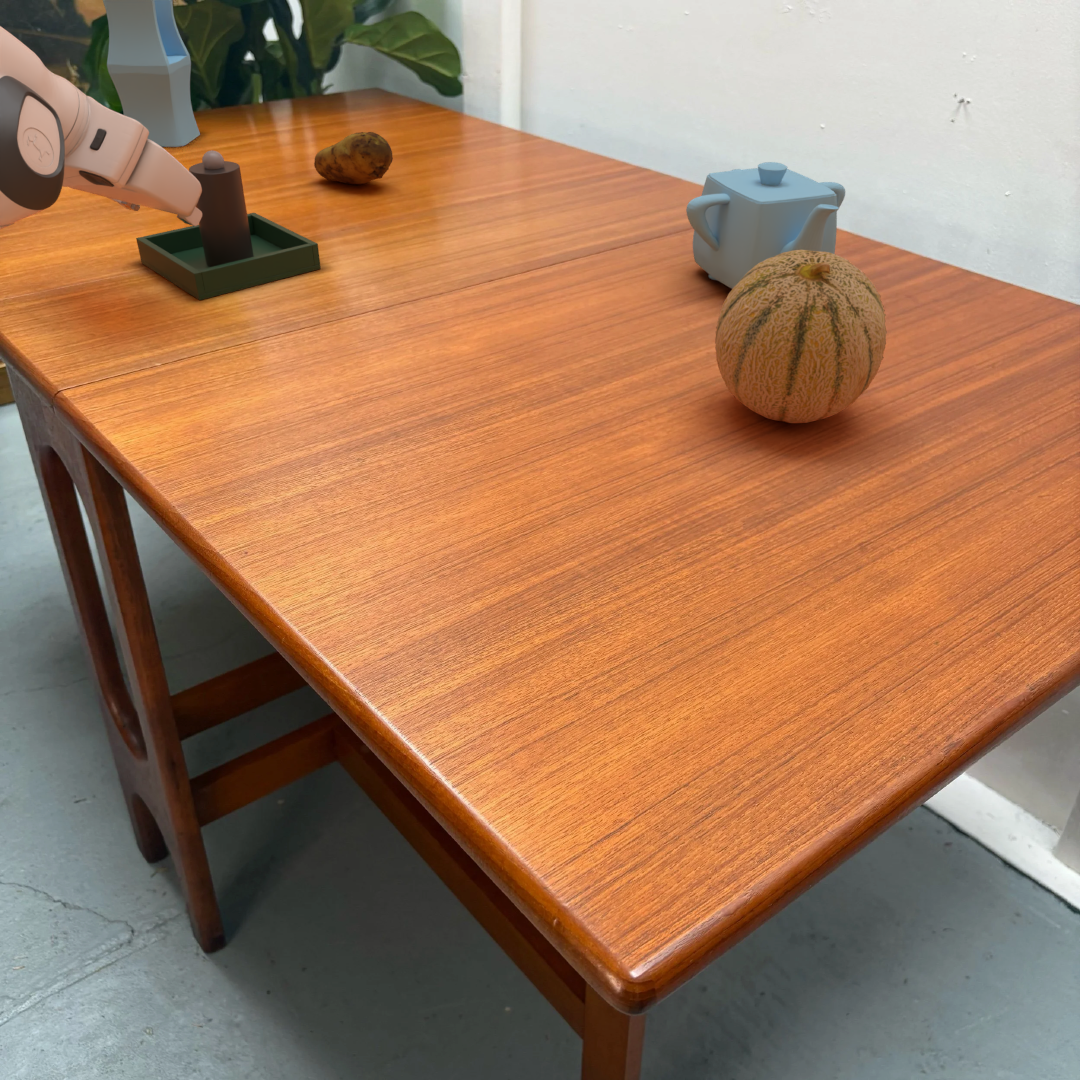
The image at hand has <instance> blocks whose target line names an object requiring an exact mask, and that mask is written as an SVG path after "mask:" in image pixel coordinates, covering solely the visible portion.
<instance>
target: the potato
mask: <svg viewBox="0 0 1080 1080" xmlns="http://www.w3.org/2000/svg"><path fill="white" fill-rule="evenodd" d="M393 159H394V158H393V150H392V148H391V145H390V144H389V142H388V140H387V139H386V138H384V137H383V136H382V135H380V134H378V133H376V132H374V131H368V132H366V131H361V132H355V133H351V134H349V135H347V136H345V137H344V138H343V139H341V140H340V141H338V142H337V143H335V144H332V145H330V146H327V147H325V148H322V149H321V150H319V151H318V152H317V153H316V155H315V156H314V163H313V164H314V165H313V166H314V168H315V170H316V172H317V174H319V176H321V178H323V179H325V180H327V181H332V182H333V181H334V182H340V183H342V184H343V183H344V184H348V185H365V184H368V183H370V182H372V181H375V180H378V179H382V178H383V177H384V175H385V174H386V173H387V171H389V168H390V166H391V164H392V163H393V161H394V160H393Z"/></svg>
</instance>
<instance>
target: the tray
mask: <svg viewBox="0 0 1080 1080" xmlns="http://www.w3.org/2000/svg"><path fill="white" fill-rule="evenodd" d="M247 217H248V223H249V229H250V236H251V242H252V248H253V255H254V257H251V258H247V259H242V260H238V261H234V262H230V263H226V264H222V265H218V266H214V267H209V266H208V265H207V264H206V260H205V254H204V249H203V243H202V238H201V233H200V227H199V224H198V225H197V226H193V225H189V226H185V227H180V228H176V229H171V230H167V231H163V232H157V233H152V234H149V235H144V236H139V237H136V238H135V239H136V244H137V248H138V253H139V258H140V262H141V264H143V265H144V266H146V267H147V268H148V269H150V270H152V271H153V272H155V273H156V274H158V275H159V276H161V277H162V278H164V279H166V280H167V281H169V282H171V284H173V285H174V286H176V287H178V288H179V289H181V290H182V291H184V292H186V293H187V294H188V295H190V296H192V297H194V298H195V299H197V300H198V301H202V300H206V299H210V298H215V297H218V296H221V295H222V296H223V295H225V294H229V293H233V292H237V291H240V290H245V289H248V288H253V287H256V286H261V285H264V284H268V283H272V282H276V281H279V280H283V279H287V278H290V277H291V278H292V277H294V276H298V275H302V274H307V273H310V272H314V271H318V270H321V269H322V268H321V259H320V252H319V244H318V243H317V242H315V241H313V240H311V239H309V238H307V237H305V236H303V235H301V234H299V233H297V232H294V231H293V230H291V229H288V228H287V227H286V226H285V227H284V226H283V225H280V224H279V223H276V222H274V221H273V220H270V219H268V218H266V217H264V216H262V215H261V214H259V213H256V212H249V213H247Z"/></svg>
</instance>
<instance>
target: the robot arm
mask: <svg viewBox="0 0 1080 1080" xmlns="http://www.w3.org/2000/svg"><path fill="white" fill-rule="evenodd" d="M148 135H149V131H148V129H147V128H146V127H144V126H143V125H142V124H141V123H139V122H138V121H136V120H134V119H132V118H130V117H128V116H125V115H124V113H123V114H122V113H120V112H118V111H116V110H113V109H112V108H108V107H106V106H105V105H104V104H101V103H100V102H99V101H97V100H96V99H94V98H93V97H92V96H90V95H87V94H85V93H84V92H83V91H82V90H80V89H79V88H78V87H77V86H76V85H74V84H73V83H72V82H71V81H69V80H68V79H67V78H65V77H63V76H60V75H59V74H56V73H53V72H52V71H51V70H50V69H48V68H47V66H45V64H44V62H43V61H42V60H41V58H40V57H39V56H38V55H37V54H36V53H35V52H34V51H33V50H31V49H30V47H28V46H27V45H26V44H24V43H23V42H22V41H21V40H19V39H18V38H17V37H16V36H14V35H13V34H12V33H11V32H10V31H8V30H6V29H5V28H3V27H2V26H1V25H0V230H2V229H5V228H8V227H9V226H12V225H14V224H15V223H17V222H19V221H23V220H24V219H27V218H29V217H31V216H35V215H36V214H38V213H39V214H40V213H41V212H42V211H43V212H44V211H45V210H46V209H49V208H51V207H52V206H53V205H54V204H55V203H56V202H57V201H58V199H59V198H60V195H61V193H62V188H70V189H72V190H77V191H80V192H84V193H89V194H92V195H96V196H101V197H105V198H106V199H107V198H108V199H110V200H111V201H113V202H116V203H117V204H119V205H120V206H122V207H123V208H125V210H129V211H134V212H139V210H140V209H141V207H146V208H149V209H153V210H158V211H162V212H165V213H169V214H173V215H176V218H177V219H179V221H182V222H183V223H184V224H186V225H189V226H197V225H199V222H200V220H201V218H202V212H201V211H200V210H199V209H198V208H197V207H196V205H197V203H198V200H199V198H200V196H201V193H202V188H201V184H200V182H199V181H198V180H197V179H196V177H195V176H193V175H192V174H191V173H190V172H189V169H188V168H186V167H185V166H184V165H183V164H182V163H181V162H180V161H179V160H178V159H177V158H176V157H174V156H173V155H172V154H171V153H170V152H169V151H168V150H166V149H165V147H161V146H159V145H158V144H156V143H155V142H153V141H151V140H149V139H147V138H148Z"/></svg>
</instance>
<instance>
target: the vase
mask: <svg viewBox="0 0 1080 1080" xmlns="http://www.w3.org/2000/svg"><path fill="white" fill-rule="evenodd" d="M102 3H103V6H104V9H105V12H106V18H107V23H108V36H109V37H108V51H107V60H106V68H107V71H108V74H109V76H110V79H111V80H112V81H111V82H112V83H113V85H114V87H115V90H116V93H117V95H118V98H119V101H120V104H121V107H122V111H123V115H125V116H128V117H130V118H132V119H134V120H136V121H138V122H139V123H141V124H142V125H143V126H144V127H146V128H147V129H148V131H149V135H148V138H147V139H149V140H151V141H153V142H155V143H156V144H158V145H159V146H161V147H162V148H179V147H184V146H186V145H188V144H190V143H191V142H193V141H194V140H195V139H197V138H198V137H199V136H201V133H200V129H199V126H198V123H197V121H196V118H195V114H194V111H193V110H194V109H193V105H192V101H191V72H192V71H191V69H192V61H191V56H190V55H191V54H190V53H189V51H188V49H187V47H186V45H185V43H184V41H183V40H182V36H181V35H180V31H179V28H178V26H177V23H176V19H175V14H174V6H173V5H174V4H173V0H102Z"/></svg>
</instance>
